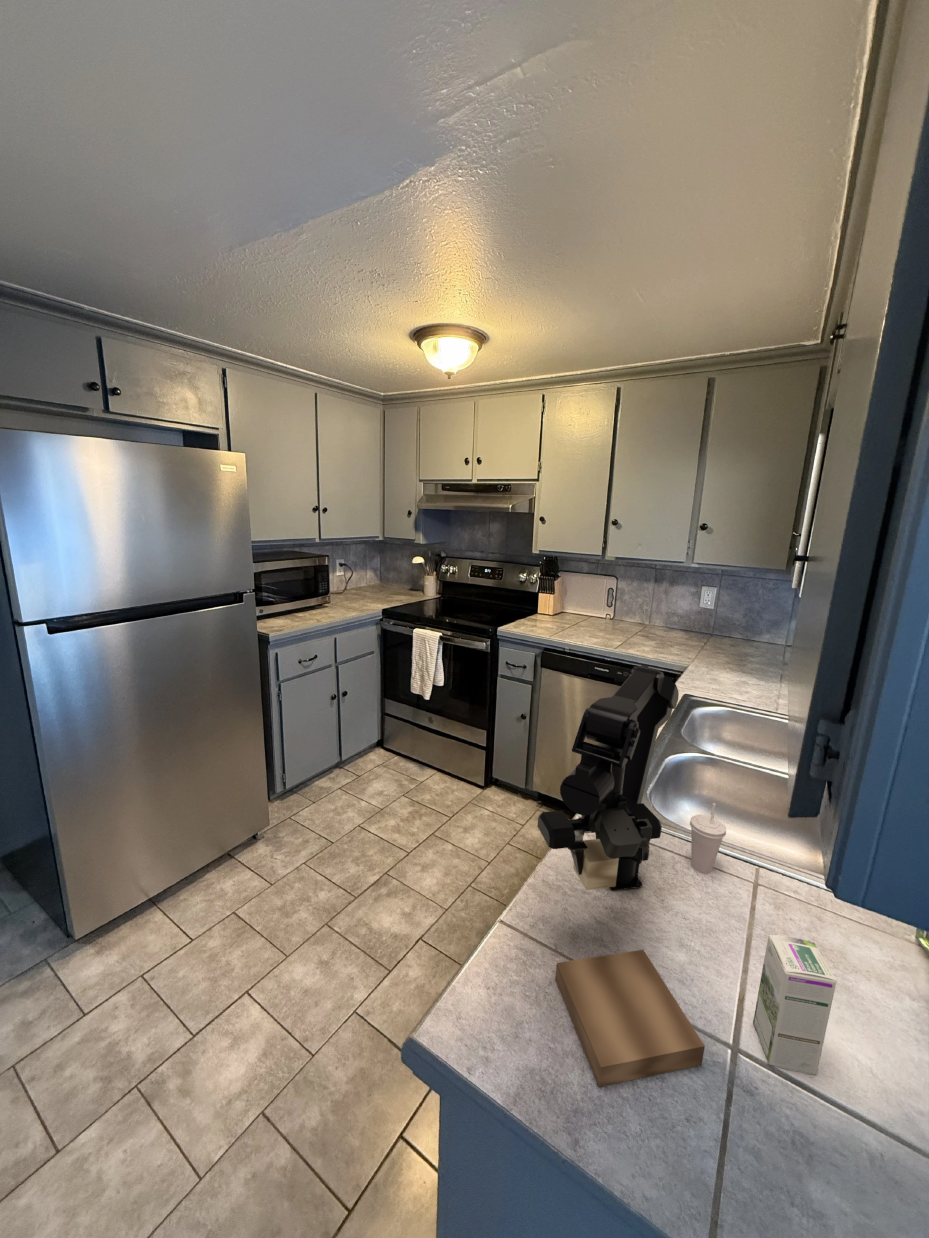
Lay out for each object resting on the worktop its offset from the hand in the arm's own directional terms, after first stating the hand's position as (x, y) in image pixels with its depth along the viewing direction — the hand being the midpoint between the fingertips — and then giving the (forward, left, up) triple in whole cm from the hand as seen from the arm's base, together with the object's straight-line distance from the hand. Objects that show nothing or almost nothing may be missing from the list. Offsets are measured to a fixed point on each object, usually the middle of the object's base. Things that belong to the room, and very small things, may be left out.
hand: (594, 871), depth 79 cm
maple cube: (0, 0, -1) cm, 1 cm away
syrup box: (-17, +22, -11) cm, 30 cm away
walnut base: (+2, +15, -11) cm, 19 cm away
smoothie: (-29, -10, -11) cm, 33 cm away
